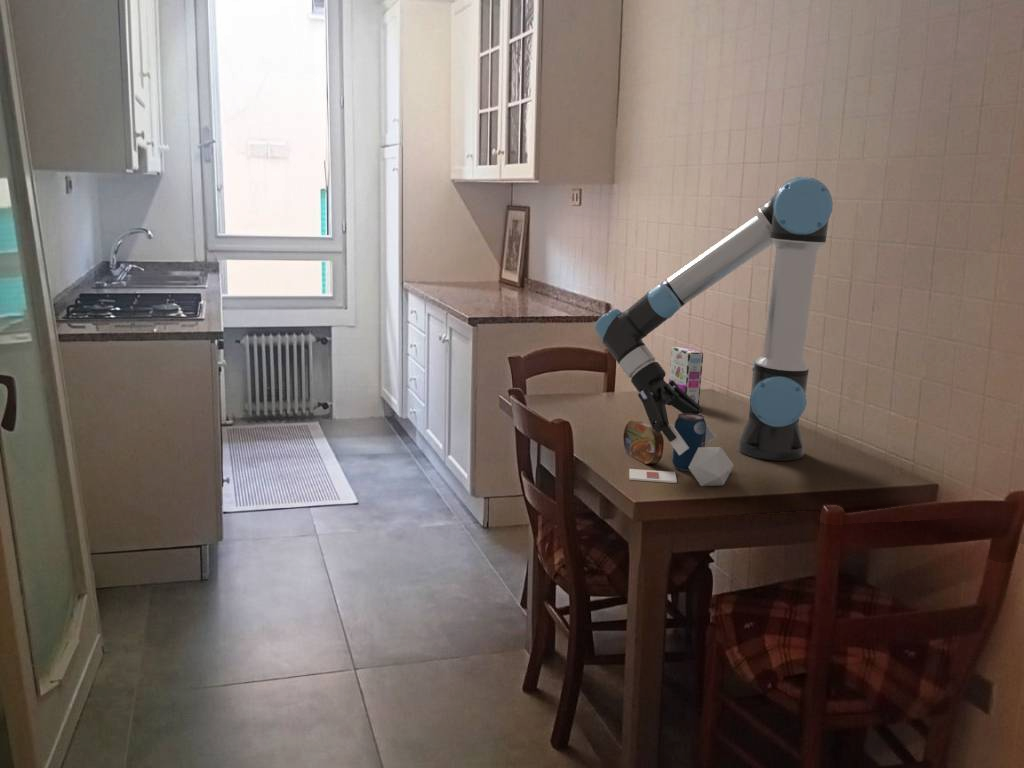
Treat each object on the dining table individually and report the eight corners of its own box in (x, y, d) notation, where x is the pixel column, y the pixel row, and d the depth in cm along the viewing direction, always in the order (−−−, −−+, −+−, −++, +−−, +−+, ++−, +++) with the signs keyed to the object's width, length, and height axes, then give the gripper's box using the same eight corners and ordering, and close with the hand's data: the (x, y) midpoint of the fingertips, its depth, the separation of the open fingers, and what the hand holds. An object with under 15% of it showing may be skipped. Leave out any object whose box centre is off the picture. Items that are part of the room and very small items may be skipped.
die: (725, 495, 200) (745, 455, 202) (691, 474, 199) (711, 434, 201) (710, 497, 208) (729, 458, 210) (676, 476, 207) (696, 438, 209)
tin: (621, 451, 228) (623, 416, 226) (633, 450, 229) (635, 416, 228) (652, 469, 214) (654, 432, 213) (664, 468, 215) (667, 431, 214)
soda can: (707, 471, 214) (712, 419, 211) (678, 472, 212) (682, 419, 210) (695, 462, 220) (699, 412, 218) (666, 463, 219) (670, 412, 216)
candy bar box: (699, 408, 276) (704, 352, 272) (684, 409, 274) (688, 352, 271) (681, 400, 286) (686, 346, 283) (666, 400, 285) (670, 346, 281)
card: (675, 473, 211) (675, 471, 211) (676, 483, 204) (676, 480, 204) (629, 470, 212) (629, 468, 212) (629, 479, 205) (629, 477, 205)
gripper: (657, 372, 231) (710, 444, 226) (604, 387, 212) (660, 466, 206) (679, 353, 227) (733, 426, 222) (626, 367, 207) (684, 447, 202)
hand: (698, 446), depth 214 cm, fingers open, 13 cm apart
